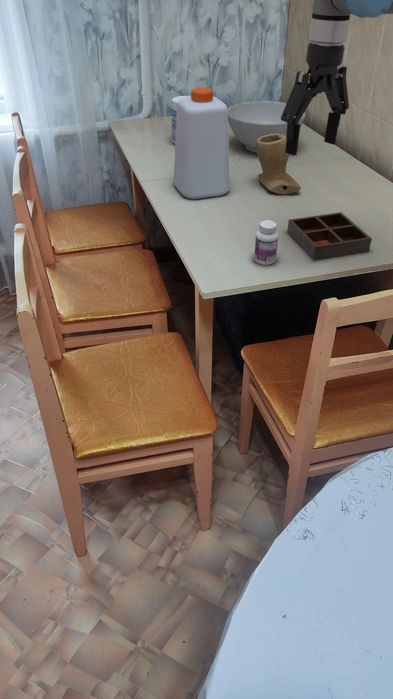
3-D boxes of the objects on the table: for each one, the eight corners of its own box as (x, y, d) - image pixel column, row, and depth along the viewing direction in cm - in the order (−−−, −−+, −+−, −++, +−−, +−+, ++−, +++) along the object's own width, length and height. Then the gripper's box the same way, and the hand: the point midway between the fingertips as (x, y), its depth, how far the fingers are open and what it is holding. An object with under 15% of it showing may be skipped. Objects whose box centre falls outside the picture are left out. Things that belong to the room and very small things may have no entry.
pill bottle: (255, 253, 135) (258, 217, 129) (276, 255, 134) (280, 219, 128) (252, 264, 131) (255, 227, 125) (274, 266, 130) (278, 230, 124)
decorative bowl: (303, 138, 201) (308, 103, 193) (297, 164, 181) (301, 127, 173) (232, 132, 206) (234, 98, 198) (218, 157, 185) (219, 120, 178)
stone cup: (248, 178, 171) (252, 129, 162) (284, 175, 173) (289, 127, 164) (263, 198, 160) (267, 147, 150) (301, 195, 162) (308, 144, 152)
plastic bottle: (185, 202, 158) (184, 100, 140) (170, 182, 169) (167, 85, 151) (233, 195, 162) (238, 95, 144) (215, 176, 173) (218, 81, 155)
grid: (368, 251, 136) (371, 238, 134) (313, 260, 132) (315, 247, 130) (338, 224, 147) (341, 212, 145) (287, 232, 144) (288, 219, 141)
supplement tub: (167, 144, 195) (165, 100, 186) (180, 136, 202) (179, 94, 192) (190, 148, 192) (190, 104, 183) (203, 140, 198) (203, 97, 189)
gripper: (349, 35, 120) (332, 134, 133) (271, 45, 107) (260, 154, 120) (377, 40, 115) (357, 142, 128) (300, 51, 102) (285, 163, 115)
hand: (310, 148), depth 124 cm, fingers open, 13 cm apart
